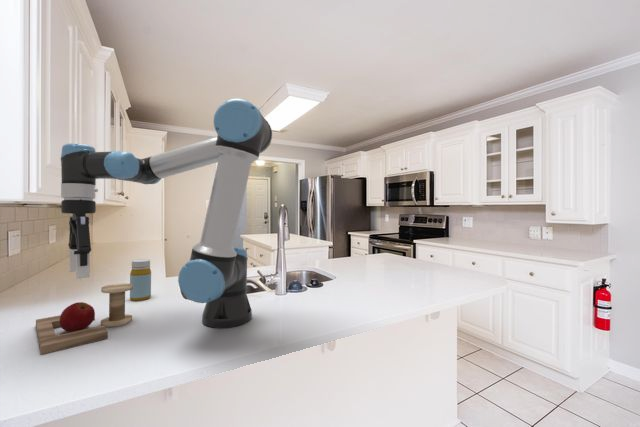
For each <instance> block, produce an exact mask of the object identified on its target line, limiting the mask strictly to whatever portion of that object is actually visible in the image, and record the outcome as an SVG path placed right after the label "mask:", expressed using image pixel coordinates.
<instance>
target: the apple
mask: <svg viewBox="0 0 640 427" xmlns="http://www.w3.org/2000/svg"><path fill="white" fill-rule="evenodd" d="M95 311H96V310H95V308H94V307H93V306H92V305H91V304H89V303H86V302H83V301H82V302H81V301H79V302H74V303H71V304H70V305H68V306H66V307H65V308H64V309H63V310H62V312H61V314H60V315H61V316H60V325H61V327H60V328H62V330H63V331H66V332H67V333H71V332H75V331H80V330H84V329H88V327H89V326H90V325H91V324H92V323H93V322H94V321H95V320H94V317H96V312H95Z"/></svg>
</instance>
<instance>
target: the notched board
mask: <svg viewBox="0 0 640 427" xmlns="http://www.w3.org/2000/svg"><path fill="white" fill-rule="evenodd" d="M60 316H61V314H60V315H55V316H49V317H43V318H39V319H35V328H36V329H35V331H36V337H37V341H38V346H39V351H40V355H46V354H50V353H55V352H58V351H63V350H66V349H70V348H75V347H79V346H83V345H87V344H90V343H91V344H92V343H95V342H98V341H99V342H100V341H104V340H106V339H108V337H109V330H108V329H107V327H104V325H103V326H101V325H99V326H98V325H97V326H95V327H89V328H85V329H84V330H80V331H75V332H67V333H61V334H59V335H58V334H57V335H56V332H55V330H54V329H59V328H62V327H61V325H60ZM95 317H96V316H95ZM95 317H94V320H93V321H95V320H96V318H95Z"/></svg>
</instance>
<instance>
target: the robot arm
mask: <svg viewBox="0 0 640 427" xmlns="http://www.w3.org/2000/svg"><path fill="white" fill-rule="evenodd" d="M213 127H214V129H215V132H216V135H217V136H215V137H212V138H208V139H204V140H201V141H198V142H195V143H191V144H188V145H185V146H181V147H178V148H174V149H172V150H168V151H164V152H162V153H158V154H155V155H151V156H148V157H145V158H138V157H136V156H135V154H133V153H132V152H129V151H121V150H115V151H113V150H112V151H96V148H95V147H94V146H91V145H88V144H84V143H73V142H72V143H65V144H63V146H62V148H61V154H60V165H61V183H60V197H61V199H63V200H62V201H61V202H60V203H61V207H60V208H61V209H60V210H61V211H60V212H61V213H62V214H72V215H71V216H69V220H68V225H69V228H68V229H69V236H68V237H69V239H68V248H69V272H70V273H72V272H73V273H74V272H75V273H76V277H75V278H76V279H77V280H79V279H88V278H90V275H91V274H90V270H91V269H90V264H91V263H90V260H91V259H90V256H91V255H90V252H92V245H91V235H90V218H89V216H87V214H95V213H96V211H97V208H96V207H97V206H96V204H97V203H96V201H95V199H96V193H98V192H99V190H98V188H96V183H97V182H96V180H97V179H98V180H100V179H102V180H103V179H104V180H106V179H107V180H108V179H109V180H110V179H112V180H118V181H119V180H120V181H124V182H125V181H126V182H132V183H138V184H143V185H155V184H158V183H159V182H160V181H161V180H162V179H164V178H168V177H171V176H175V175H178V174H181V173H185V172H188V171H192V170H195V169H198V168H203V167H205V166H210V165H213V164H216V163H217V165H216V170H215V174H214V179H213V182H212V183H213V184H212V186H211V187H212V188H211V193H210V196H209V201H208V206H207V210H206V214H205V217H204V224H203V228H202V233H201V237H200V240H199V242H198V243H196V244H195V245H193V246H192V250H191V253H190V258H189V260H188V262H186V263H184V265H183V266H182V267H181V269H180V270H179V273H178V277H177V279H178V280H177V283H178V285H179V288H180V291H181V292H182V294H183V295H184V297H186V298H187V299H188V300H190V301H192V302H194V303H197V304H205V306H204V309H203V311H202V315H201V318H202V319H201V322H202V325H204V326H206V327H209V328H218V329H219V328H220V329H221V328H223V329H224V328H226V329H227V328H235V327H237V326H242V325H244V324H246V323H248V322H250V321H251V319H252V317H253V316H252V313H253V310H252V308H251V304H250V300H249V298H248V295H247V292H248V291H247V288H248V286H247V284H248V283H247V282H248V251H247V250H246V249H245V248H243V247H234V242H235V238H236V233H237V229H238V225H239V221H240V216H241V211H242V209H243V208H242V207H243V204H244V199H245V194H246V190H247V185H248V180H249V176H250V171H251V166H252V164H253V163H254V162H256V161H257V160H259V157H260V154H262V153H263V152H265V151H266V150H267V149H268V148H269V146H270V145H271V143H272V139H273V131H272V127H271V125H270V123H269V122H268V120H266V118H265V117H264V116H263V115H262V113H261V110H260V109H259V108H258V107H257V106H255V105H254V104H253V103H252V102H250V101H249V100H247V99H243V98H230V99H229V100H227V101H225V102H223V103H222V104H220V105H219V106H218V108H216V110H215V112H214V115H213ZM93 199H94V200H93Z"/></svg>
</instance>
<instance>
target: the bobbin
mask: <svg viewBox="0 0 640 427" xmlns="http://www.w3.org/2000/svg"><path fill="white" fill-rule="evenodd" d="M131 289H133V284H130V282H129V283H126V282H125V283H123V282H122V283H114V284H107V285H104V286H102V287H101V289H100V293H103V294H109V296H108V297H109V298H108V300H109V301H108V302H109V303H108V306H109V307H108V309H109V310H108V316H107V317H104V318H102V319H101V321H100V326H103V325H104V327H105V328H114V327H121V326H124V325H127V324H129V323H131V322H132V321H133V315H132V314H129V313H128V314H126V292H128V291H129V292H130V290H131Z"/></svg>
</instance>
